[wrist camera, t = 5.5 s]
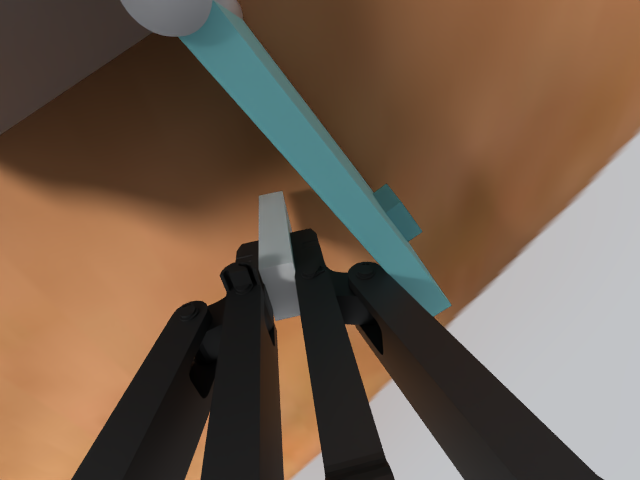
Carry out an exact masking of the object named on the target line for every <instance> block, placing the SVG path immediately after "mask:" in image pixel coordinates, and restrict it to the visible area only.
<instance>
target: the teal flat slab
mask: <svg viewBox="0 0 640 480" xmlns="http://www.w3.org/2000/svg"><path fill="white" fill-rule="evenodd" d="M120 1H121V2H122V4H123V6H124V7H125V9H126V10H127V11H128V13H129V14H130V15H131V16H132V17H133V18H134V19H135V20H136V21H137V22H138V23H139V24H141V25H142V26H143V27H145V28H146V29H148V30H150V31H152V32H154V33H157V34H159V35H163V36H172V37H179V39H180V40H181V41H182V42H183V43H184V44H185V45H186V46H187V48H188V49H189V50H190V51H191V52H192V53H193V54H194V55H195V57H196V58H197V59H198V60H199V61H200V62H201V63H202V65H203V66H204V67H205V68H206V69H207V70H208V71H209V72H210V74H211V75H212V76H213V77H214V78H215V79H216V80H217V81H218V83H219V84H220V85H221V86H222V87H223V88H224V89H225V90H226V92H227V93H228V94H229V95H230V96H231V97H232V98H233V100H234V101H235V102H236V103H237V104H238V105H239V106H240V107H241V109H242V110H243V111H244V112H245V113H246V114H247V115H248V116H249V118H250V119H251V120H252V121H253V122H254V123H255V124H256V125H257V127H258V128H259V129H260V130H261V131H262V132H263V133H264V135H265V136H266V137H267V138H268V139H269V140H270V141H271V142H272V144H273V145H274V146H275V147H276V148H277V149H278V150H279V151H280V153H281V154H282V155H283V156H284V157H285V158H286V159H287V161H288V162H289V163H290V164H291V165H292V166H293V167H294V168H295V170H296V171H297V172H298V173H299V174H300V175H301V176H302V177H303V179H304V180H305V181H306V182H307V183H308V184H309V185H310V186H311V188H312V189H313V190H314V191H315V192H316V193H317V194H318V196H319V197H320V198H321V199H322V200H323V201H324V202H325V203H326V205H327V206H328V207H329V208H330V209H331V210H332V211H333V212H334V214H335V215H336V216H337V217H338V218H339V219H340V220H341V221H342V223H343V224H344V225H345V226H346V227H347V228H348V229H349V231H350V232H351V233H352V234H353V235H354V236H355V237H356V238H357V240H358V241H359V242H360V243H361V244H362V245H363V246H364V247H365V249H366V250H367V251H368V252H369V253H370V254H371V255H372V256H373V258H374V259H375V260H376V261H377V262H378V263H379V264H380V266H381V267H382V268H383V269H384V270H385V271H386V272H387V273H388V274H389V275H390V276H391V277H392V278H393V279H395V280H396V281H397V282H398V283H399V284H400V285H401V286H402V287H403V288H404V289H405V290H406V291H407V292H408V293H409V294H410V295H411V296H412V297H413V298H414V299H415V300H416V301H417V302H418V303H419V304H420V305H421V306H422V307H423V308H425V309H426V310H427V311H428V312H429V313H430V314H431V315H432V316H433V317H434V316H435V315H437V314H438V313H440V312H442V311H443V310H445V309H447V308H448V307H450V306H452V305H451V303H450V302H449V301H448V299H447V298H446V296H445V295H444V293H443V292H442V290H441V289H440V287H439V286H438V285H437V283H436V282H435V280H434V279H433V277H432V276H431V274H430V273H429V271H428V270H427V269H426V267H425V266H424V264H423V263H422V261H421V260H420V258H419V257H418V255H417V254H416V253H415V251H414V250H413V248H412V247H411V245H410V244H409V242H408V241H410V240H411V239H413V238H414V237H416V236H417V235H419V234H420V233H421V232H422V230H421V229H420V227H419V226H418V225H417V223H416V222H415V220H414V219H413V218H412V216H411V215H410V213H409V212H408V211H407V209H406V208H405V206H404V205H403V204H402V202H401V201H400V200H399V198H398V197H397V196H396V195H395V193H394V192H393V191H392V190H391V189H390V187H389V186H388V185H387V184H385V185H384V186H382V187H381V188H380V189H378V190H377V191H376V192H373V191H372V189H371V188H370V187H369V185H368V184H367V183H366V181H365V180H364V179H363V178H362V176H361V175H360V174H359V172H358V171H357V170H356V168H355V167H354V166H353V164H352V163H351V162H350V160H349V159H348V158H347V156H346V155H345V154H344V152H343V151H342V150H341V149H340V147H339V146H338V145H337V143H336V142H335V141H334V139H333V138H332V137H331V135H330V134H329V133H328V131H327V130H326V129H325V127H324V126H323V125H322V124H321V122H320V121H319V120H318V118H317V117H316V116H315V114H314V113H313V112H312V110H311V109H310V108H309V106H308V105H307V104H306V102H305V101H304V100H303V99H302V97H301V96H300V95H299V93H298V92H297V91H296V89H295V88H294V87H293V85H292V84H291V83H290V81H289V80H288V79H287V77H286V76H285V75H284V73H283V72H282V71H281V70H280V68H279V67H278V66H277V64H276V63H275V62H274V60H273V59H272V58H271V56H270V55H269V54H268V52H267V51H266V50H265V48H264V47H263V46H262V45H261V43H260V42H259V41H258V39H257V38H256V37H255V35H254V34H253V33H252V31H251V30H250V29H249V27H248V26H247V25H246V23H245V22H244V21H243V12H242V9H241V6H240V4H239V3H238V1H237V0H120Z"/></svg>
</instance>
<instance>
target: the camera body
mask: <svg viewBox="0 0 640 480" xmlns="http://www.w3.org/2000/svg"><path fill="white" fill-rule="evenodd" d="M151 33H153V32H152V31H150V30H148V29H146V28H145V27H143V26H142V25H141V24H139V23H138V22H137V21H136V20H135V19H134V18H133V17H132V16H131V15H130V14H129V13H128V11H127V10H126V9H125V7H124V6H123V4H122V2H121V1H120V0H0V135H1V134H2V133H4V132H5V131H7V130H8V129H10V128H11V127H13V126H14V125H16V124H17V123H19V122H20V121H22V120H23V119H25V118H26V117H28V116H29V115H31V114H32V113H34V112H35V111H37V110H38V109H40V108H41V107H43V106H44V105H46V104H47V103H49V102H50V101H51V100H53V99H54V98H56V97H57V96H59V95H60V94H62V93H63V92H65V91H66V90H68V89H69V88H71V87H72V86H74V85H75V84H77V83H78V82H80V81H81V80H83V79H84V78H86V77H87V76H89V75H90V74H92V73H93V72H95V71H96V70H98V69H99V68H101V67H102V66H104V65H105V64H107V63H108V62H110V61H111V60H112V59H114V58H115V57H117V56H118V55H120V54H121V53H123V52H124V51H126V50H127V49H129V48H130V47H132V46H133V45H135V44H136V43H138V42H139V41H141V40H142V39H144V38H145V37H147V36H148V35H150V34H151Z"/></svg>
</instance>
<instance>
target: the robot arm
mask: <svg viewBox="0 0 640 480" xmlns="http://www.w3.org/2000/svg"><path fill="white" fill-rule="evenodd" d="M220 277H221V280H222V282H223V284H224V287H225V289H226V292H227V294H226V297H224V298H223V299H221V300H220V301H218V302H216V303H214V304H211V305H209V306H207V304H206V303H204V302H203V301H192V302H189V303H186V304H184V305H182V306H181V307H180V308H178V309H177V310H176V311H175V312H174V314H173V315H172V316H171V318H170V320H169V321H168V323H167V325H166V326H165V328H164V329H163V331H162V333H161V334H160V336H159V338H158V339H157V341H156V342H155V344H154V346H153V347H152V349H151V351H150V352H149V354H148V355H147V357H146V359H145V360H144V362H143V364H142V365H141V367H140V369H139V370H138V372H137V373H136V375H135V377H134V378H133V380H132V382H131V383H130V385H129V386H128V388H127V390H126V391H125V393H124V395H123V396H122V398H121V399H120V401H119V403H118V404H117V406H116V408H115V409H114V411H113V412H112V414H111V416H110V417H109V419H108V421H107V422H106V424H105V426H104V427H103V429H102V430H101V432H100V434H99V435H98V437H97V439H96V440H95V442H94V443H93V445H92V447H91V448H90V450H89V452H88V453H87V455H86V456H85V458H84V460H83V461H82V463H81V465H80V466H79V468H78V469H77V471H76V473H75V474H74V476H73V478H72V479H71V480H185V477H186V475H187V472H188V469H189V467H190V464H191V461H192V458H193V456H194V453H195V450H196V448H197V445H198V442H199V439H200V437H201V434H202V431H203V429H204V426H205V423H206V420H207V418H208V415H209V412H210V416H209V423H208V430H207V437H206V444H205V452H204V459H203V466H202V473H201V480H284V473H283V452H282V431H281V410H280V389H279V369H278V348H277V330H276V327H275V324H274V317H275V320H276V321H277V320H281V319H286V318H290V317H295V316H299V315H300V316H301V322H302V328H303V335H304V341H305V348H306V354H307V361H308V367H309V373H310V380H311V386H312V393H313V399H314V406H315V412H316V418H317V425H318V431H319V438H320V444H321V450H322V457H323V463H324V470H325V480H395V479H394V476H393V473H392V471H391V468H390V466H389V464H388V462H387V461H386V458H385V455H384V452H383V448H382V445H381V442H380V438H379V435H378V432H377V429H376V425H375V423H374V419H373V415H372V413H371V409H370V406H369V402H368V399H367V396H366V392H365V389H364V386H363V383H362V379H361V376H360V373H359V370H358V366H357V363H356V360H355V356H354V353H353V350H352V347H351V343H350V340H349V337H348V333H347V330H346V327H345V324H352V325H355V326H356V328H357V330H358V331H359V332H360V334H361V335H362V337H363V338H364V339H365V341H366V342H367V344H368V345H369V346H370V348H371V349H372V351H373V352H374V353H375V355H376V356H377V358H378V359H379V360H380V362H381V363H382V365H383V366H384V367H385V369H386V370H387V372H388V373H389V374H390V376H391V377H392V379H393V380H394V382H395V383H396V384H397V386H398V387H399V388H400V390H401V391H402V393H403V394H404V396H405V397H406V398H407V400H408V401H409V403H410V404H411V405H412V407H413V408H414V410H415V411H416V412H417V414H418V415H419V417H420V418H421V419H422V421H423V422H424V424H425V425H426V426H427V428H428V429H429V431H430V432H431V433H432V435H433V436H434V438H435V439H436V441H437V442H438V443H439V445H440V446H441V448H442V449H443V450H444V452H445V453H446V455H447V456H448V457H449V459H450V460H451V461H452V463H453V464H454V466H455V467H456V469H457V470H458V471H459V472H460V474H461V476H462V477H463V478H464V480H603V479H602V478H600V477H599V476H597V475H596V474H595V473H594V472H593V471H592V470H591V469H590V468H589V467H588V466H587V465H586V464H585V463H584V462H583V461H582V460H581V459H580V458H579V457H578V456H577V455H576V454H575V453H573V451H571V450H570V449H569V448H568V447H567V446H566V445H565V444H564V443H563V442H562V441H561V440H560V439H559V438H558V437H557V436H556V435H555V434H554V433H553V432H552V431H551V430H550V429H548V427H547V426H546V425H545V424H544V423H542V422H541V421H540V420H539V419H538V418H537V417H536V416H535V415H534V414H533V413H532V412H531V411H530V410H529V409H528V408H527V407H526V406H525V405H524V404H523V403H522V402H521V401H520V400H519V399H518V398H516V396H515V395H514V394H513V393H511V392H510V391H509V390H508V389H507V388H506V387H505V386H504V385H503V384H502V383H501V382H500V381H499V380H498V379H497V378H496V377H495V376H494V375H493V374H492V373H491V372H490V371H489V370H488V369H487V368H485V366H483V365H482V364H481V363H480V362H479V361H478V360H477V359H476V358H475V357H474V356H473V355H472V354H471V353H470V352H469V351H468V350H467V349H466V348H465V347H464V346H463V345H462V344H461V343H460V342H458V340H457V339H455V337H453V336H452V335H451V334H450V333H449V332H448V331H447V330H446V329H445V328H444V327H443V326H442V325H441V324H440V323H439V322H438V321H437V320H436V319H435V318H434V317H433V316H432V315H431V314H430V313H429V312H428V311H427V310H426V309H425V308H423V307H422V306H421V305H420V304H419V303H418V302H417V301H416V300H415V299H414V298H413V297H412V296H411V295H410V294H409V293H408V292H407V291H406V290H405V289H404V288H403V287H402V286H401V285H400V284H399V283H398V282H397V281H396V280H395V279H393V278H392V277H391V276H390V275H389V274H388V273H387V272H386V271H385V270H384V269H383V268H382V267H381V266H380V265H378V264H376V263H373V262H361V263H357V264H355V265H354V266H352V267H351V268H350V269H349V271H348V273H341V272H335V271H332V270H330V269H329V268H327V267H326V265H325V262H324V259H323V255H322V252H321V248H320V245H319V241H318V238H317V234H316V233H315V232H314V231H313V230H312V229H305V230H301V231H296V232H292V229H291V225H290V220H289V216H288V212H287V208H286V204H285V200H284V196H283V192H282V191H279V192H274V193H270V194H265V195H260V196H259V240H258V241H254V242H249V243H245V244H242V245H241V246H240V247H239V249H238V250H237V254H236V262H235V263H232V264H230V265H228V266H227V267H225V268H224V269H223V270H222V272H221V274H220ZM273 314H274V317H273Z"/></svg>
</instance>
